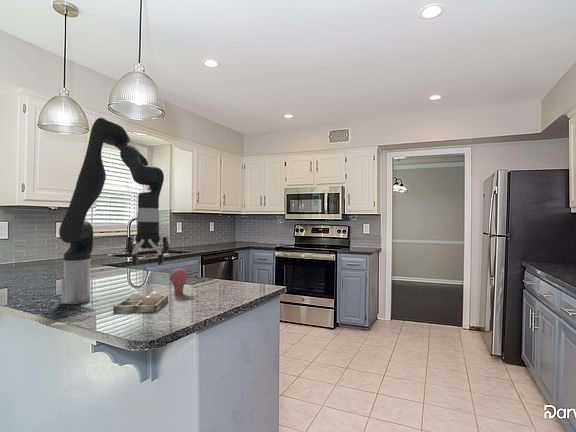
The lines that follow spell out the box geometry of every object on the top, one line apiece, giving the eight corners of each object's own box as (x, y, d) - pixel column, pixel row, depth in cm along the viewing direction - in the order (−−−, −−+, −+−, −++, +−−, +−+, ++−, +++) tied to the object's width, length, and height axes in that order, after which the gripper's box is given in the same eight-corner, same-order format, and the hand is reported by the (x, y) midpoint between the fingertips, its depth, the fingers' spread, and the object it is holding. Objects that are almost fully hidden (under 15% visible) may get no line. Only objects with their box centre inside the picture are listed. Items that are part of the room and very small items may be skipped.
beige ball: (144, 307, 127) (144, 294, 127) (157, 306, 127) (157, 294, 127) (139, 310, 122) (139, 297, 122) (153, 310, 122) (153, 297, 122)
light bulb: (182, 298, 143) (182, 270, 143) (166, 297, 144) (166, 269, 144) (190, 294, 150) (190, 267, 149) (175, 294, 151) (175, 267, 151)
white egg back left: (127, 306, 128) (127, 293, 128) (132, 302, 133) (132, 290, 133) (140, 305, 129) (140, 293, 129) (144, 302, 133) (144, 290, 133)
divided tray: (113, 314, 120) (113, 306, 120) (129, 303, 135) (129, 296, 134) (156, 313, 121) (156, 305, 121) (167, 303, 136) (167, 295, 136)
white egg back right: (146, 305, 129) (146, 293, 129) (150, 302, 134) (150, 290, 134) (159, 305, 129) (159, 292, 129) (163, 302, 134) (162, 289, 134)
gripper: (171, 220, 128) (170, 263, 128) (132, 220, 127) (131, 263, 127) (165, 221, 121) (164, 266, 121) (124, 220, 120) (123, 266, 120)
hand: (147, 264), depth 124 cm, fingers open, 8 cm apart
